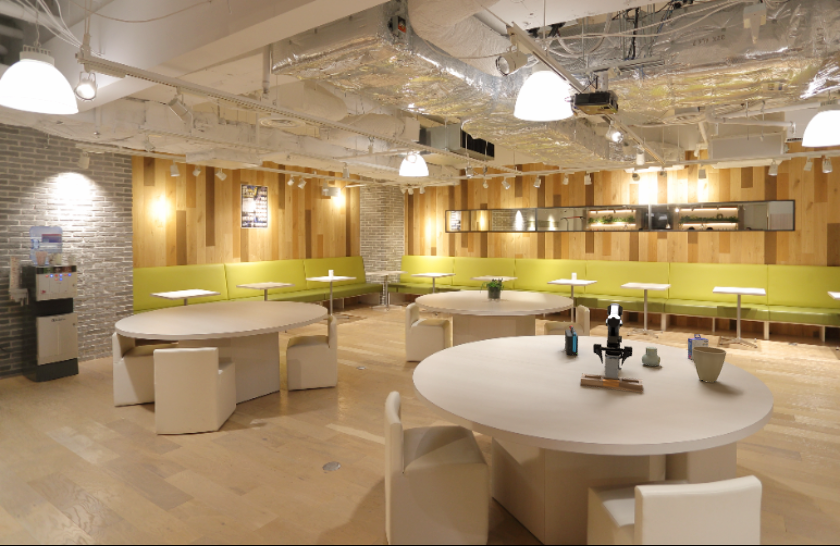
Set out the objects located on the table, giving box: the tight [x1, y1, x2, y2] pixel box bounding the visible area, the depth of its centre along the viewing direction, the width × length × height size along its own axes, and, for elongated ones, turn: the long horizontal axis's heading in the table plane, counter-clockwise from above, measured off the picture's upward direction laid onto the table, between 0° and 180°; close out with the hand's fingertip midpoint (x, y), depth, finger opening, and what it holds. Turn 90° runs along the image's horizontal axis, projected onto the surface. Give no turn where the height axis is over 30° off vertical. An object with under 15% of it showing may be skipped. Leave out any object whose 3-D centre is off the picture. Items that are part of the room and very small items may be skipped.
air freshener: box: [641, 346, 661, 367], centre depth 279 cm, size 11×8×10 cm
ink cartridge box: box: [687, 333, 709, 361], centre depth 292 cm, size 10×6×14 cm, turn 89°
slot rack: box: [580, 373, 644, 393], centre depth 242 cm, size 10×28×4 cm, turn 67°
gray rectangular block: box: [604, 356, 619, 380], centre depth 241 cm, size 3×6×13 cm, turn 67°
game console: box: [564, 325, 579, 356], centre depth 311 cm, size 28×6×15 cm, turn 167°
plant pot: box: [692, 346, 727, 383], centre depth 250 cm, size 15×15×16 cm
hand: (612, 364), depth 248 cm, fingers open, 9 cm apart
